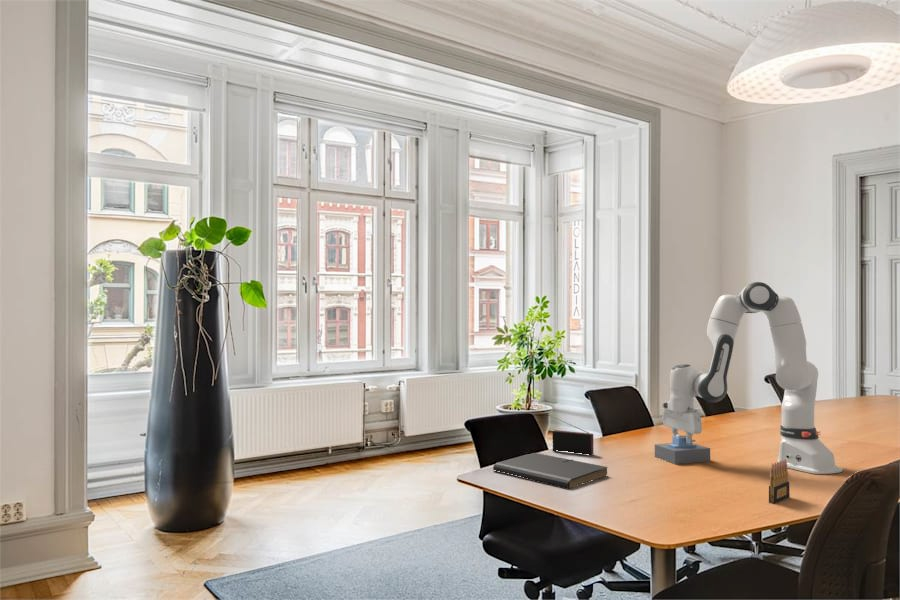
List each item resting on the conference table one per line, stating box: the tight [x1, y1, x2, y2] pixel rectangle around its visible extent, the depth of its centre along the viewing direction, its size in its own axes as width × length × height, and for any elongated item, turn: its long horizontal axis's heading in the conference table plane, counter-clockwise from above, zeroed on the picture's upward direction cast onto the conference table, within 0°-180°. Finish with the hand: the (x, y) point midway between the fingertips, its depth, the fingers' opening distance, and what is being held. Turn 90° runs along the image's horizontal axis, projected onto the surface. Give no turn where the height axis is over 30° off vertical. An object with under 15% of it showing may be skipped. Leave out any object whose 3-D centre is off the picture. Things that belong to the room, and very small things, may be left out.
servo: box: [668, 434, 697, 448], centre depth 261 cm, size 4×12×9 cm, turn 107°
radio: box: [548, 414, 595, 456], centre depth 273 cm, size 19×3×15 cm, turn 59°
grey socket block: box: [654, 442, 711, 465], centre depth 261 cm, size 13×16×5 cm
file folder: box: [492, 452, 608, 490], centre depth 239 cm, size 33×4×24 cm
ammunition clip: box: [768, 459, 791, 505], centre depth 205 cm, size 11×2×12 cm, turn 131°
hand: (682, 441), depth 261 cm, fingers open, 5 cm apart
